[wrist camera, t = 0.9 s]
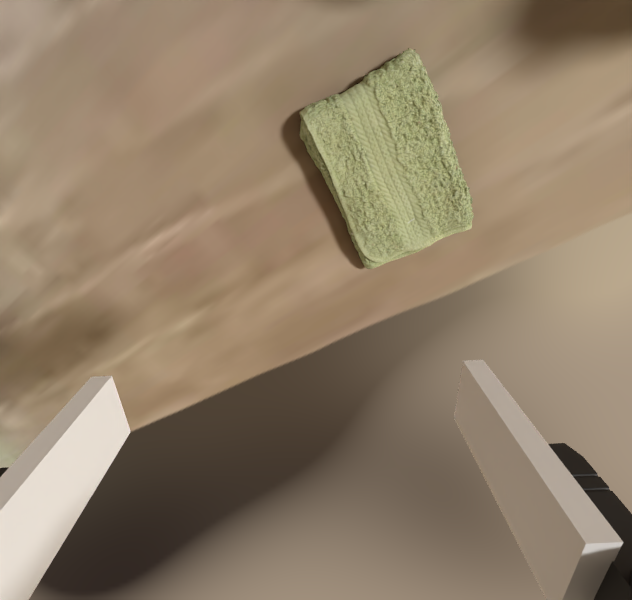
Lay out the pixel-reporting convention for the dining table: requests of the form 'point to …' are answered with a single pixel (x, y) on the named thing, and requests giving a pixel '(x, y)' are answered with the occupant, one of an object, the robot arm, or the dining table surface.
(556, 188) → the dining table surface
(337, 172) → the washcloth
